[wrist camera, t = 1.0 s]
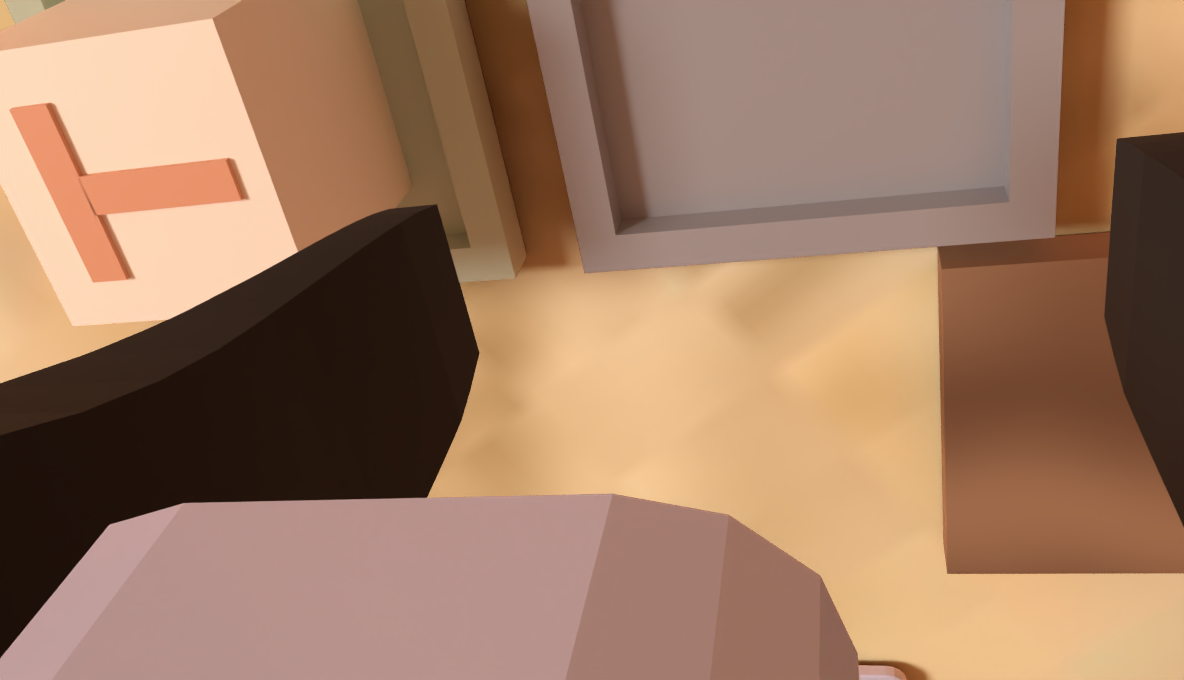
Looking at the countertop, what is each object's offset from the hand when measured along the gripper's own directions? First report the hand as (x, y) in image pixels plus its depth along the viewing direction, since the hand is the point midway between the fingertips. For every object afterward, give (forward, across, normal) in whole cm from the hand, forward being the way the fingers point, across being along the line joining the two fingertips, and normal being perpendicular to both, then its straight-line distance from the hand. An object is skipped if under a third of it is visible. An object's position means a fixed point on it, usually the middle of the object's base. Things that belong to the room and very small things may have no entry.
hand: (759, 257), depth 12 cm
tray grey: (+9, 0, 0) cm, 9 cm away
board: (+9, -6, +9) cm, 15 cm away
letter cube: (+9, +10, 0) cm, 14 cm away
